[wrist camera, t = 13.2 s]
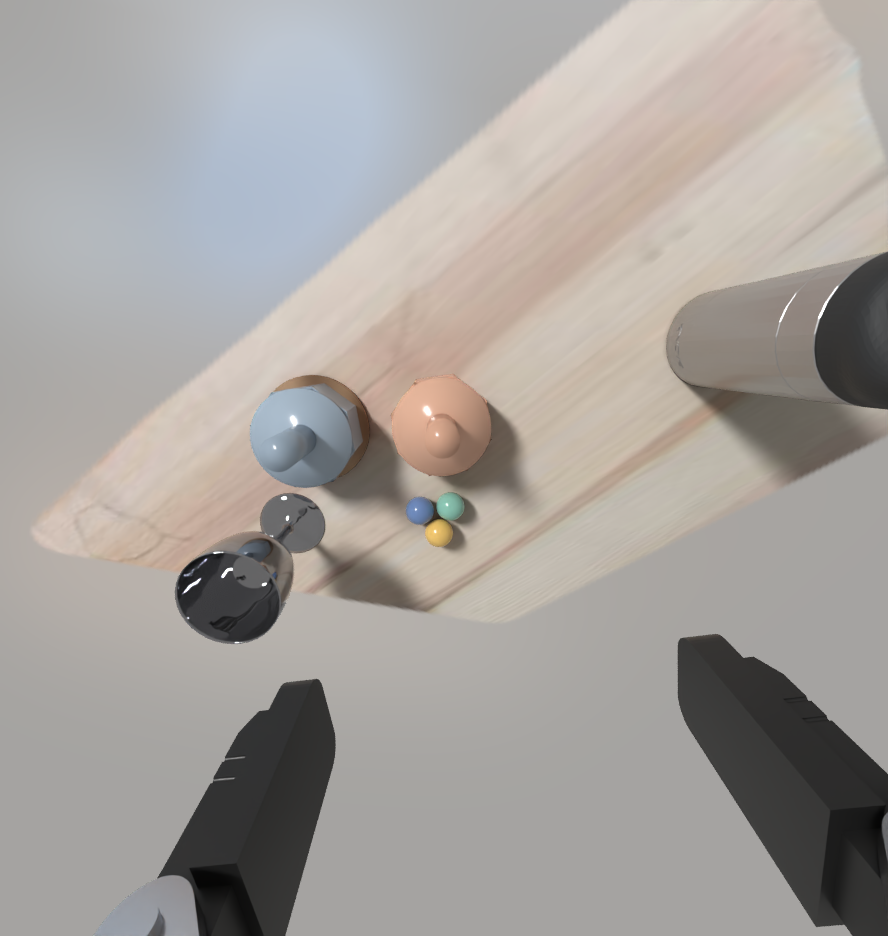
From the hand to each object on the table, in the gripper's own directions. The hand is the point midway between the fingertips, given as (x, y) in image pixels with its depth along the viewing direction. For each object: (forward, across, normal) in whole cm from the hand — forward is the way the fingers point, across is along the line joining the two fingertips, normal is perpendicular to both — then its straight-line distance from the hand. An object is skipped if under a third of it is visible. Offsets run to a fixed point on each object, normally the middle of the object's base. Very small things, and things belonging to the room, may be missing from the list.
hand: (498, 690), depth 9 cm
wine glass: (+36, +20, +8) cm, 42 cm away
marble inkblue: (+36, +6, +8) cm, 37 cm away
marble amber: (+36, +4, +11) cm, 38 cm away
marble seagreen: (+36, +2, +8) cm, 37 cm away
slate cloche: (+35, +15, -2) cm, 38 cm away
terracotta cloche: (+36, +2, -1) cm, 36 cm away
